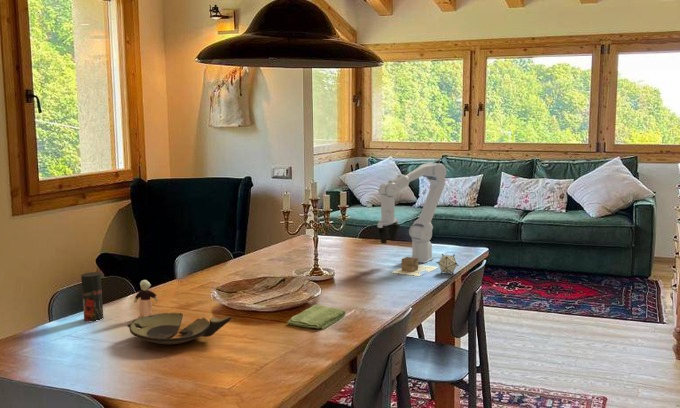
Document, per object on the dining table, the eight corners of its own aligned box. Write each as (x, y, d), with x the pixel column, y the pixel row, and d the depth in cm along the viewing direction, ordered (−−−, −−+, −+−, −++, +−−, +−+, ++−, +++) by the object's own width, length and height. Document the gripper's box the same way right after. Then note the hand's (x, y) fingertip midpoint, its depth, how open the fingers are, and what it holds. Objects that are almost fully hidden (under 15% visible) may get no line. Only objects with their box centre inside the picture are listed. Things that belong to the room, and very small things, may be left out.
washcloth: (285, 326, 208) (285, 316, 207) (315, 311, 223) (314, 302, 223) (321, 333, 201) (320, 322, 201) (349, 317, 217) (349, 307, 216)
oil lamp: (165, 323, 212) (164, 300, 211) (242, 337, 198) (241, 312, 197) (111, 345, 192) (109, 320, 191) (192, 362, 178) (190, 334, 177)
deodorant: (107, 318, 218) (104, 273, 217) (92, 322, 213) (89, 277, 211) (95, 315, 222) (92, 271, 219) (80, 320, 216) (77, 275, 214)
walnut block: (407, 268, 281) (407, 256, 280) (417, 269, 278) (417, 258, 278) (401, 270, 277) (401, 259, 276) (412, 272, 274) (412, 260, 273)
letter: (411, 264, 289) (411, 263, 289) (438, 267, 282) (438, 267, 282) (391, 272, 274) (391, 272, 274) (419, 276, 267) (419, 276, 267)
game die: (451, 281, 273) (465, 261, 273) (448, 279, 265) (462, 258, 265) (433, 269, 276) (447, 249, 277) (429, 266, 269) (444, 246, 269)
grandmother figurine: (134, 320, 215) (132, 282, 214) (134, 317, 219) (132, 279, 217) (159, 318, 217) (157, 280, 216) (159, 314, 221) (157, 277, 219)
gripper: (388, 207, 293) (388, 238, 294) (371, 212, 281) (371, 243, 282) (402, 208, 289) (402, 239, 291) (385, 213, 277) (386, 245, 279)
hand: (388, 241), depth 286 cm, fingers open, 7 cm apart
